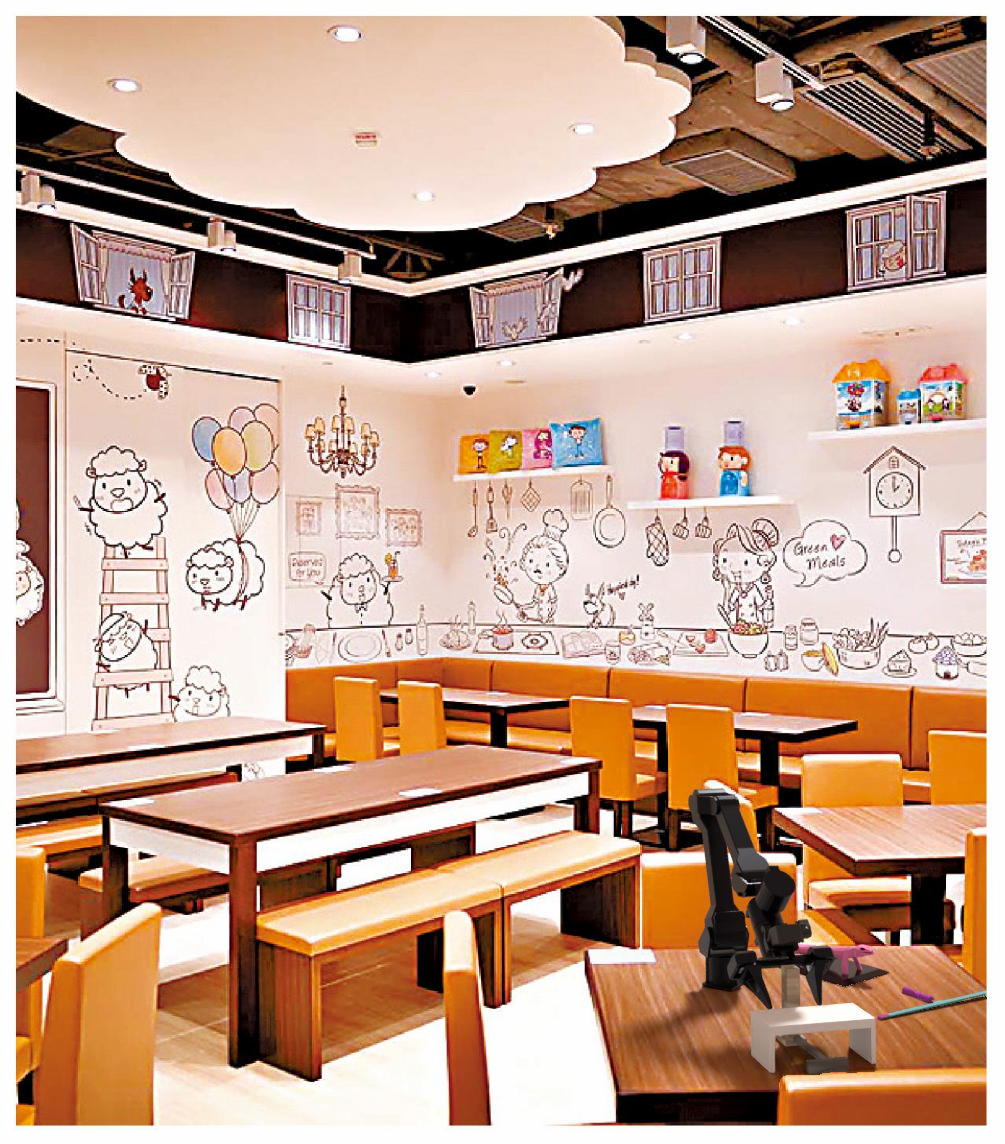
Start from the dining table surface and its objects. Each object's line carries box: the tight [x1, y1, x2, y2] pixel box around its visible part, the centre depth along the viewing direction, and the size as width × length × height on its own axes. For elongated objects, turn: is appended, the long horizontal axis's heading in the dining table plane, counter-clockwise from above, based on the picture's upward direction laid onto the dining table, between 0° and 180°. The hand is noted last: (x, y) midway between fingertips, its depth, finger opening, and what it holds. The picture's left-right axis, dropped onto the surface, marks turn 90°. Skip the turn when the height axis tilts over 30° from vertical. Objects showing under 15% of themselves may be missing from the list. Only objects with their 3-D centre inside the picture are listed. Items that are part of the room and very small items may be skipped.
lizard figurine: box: [794, 943, 890, 988], centre depth 254 cm, size 15×20×7 cm
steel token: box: [821, 1069, 847, 1074], centre depth 197 cm, size 4×4×1 cm
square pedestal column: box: [775, 965, 850, 1075], centre depth 207 cm, size 16×7×13 cm, turn 11°
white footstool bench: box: [750, 1002, 877, 1074], centre depth 205 cm, size 8×19×8 cm, turn 101°
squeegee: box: [877, 986, 987, 1021], centre depth 235 cm, size 29×2×10 cm
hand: (795, 1007), depth 211 cm, fingers open, 9 cm apart
